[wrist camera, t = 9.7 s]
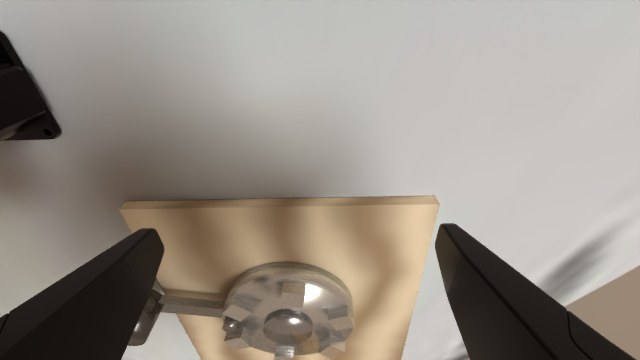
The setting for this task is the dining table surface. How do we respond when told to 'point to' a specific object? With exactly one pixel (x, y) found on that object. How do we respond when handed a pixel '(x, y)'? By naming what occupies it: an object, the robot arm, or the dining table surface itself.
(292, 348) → the gear crank handle
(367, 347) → the base plate
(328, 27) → the dining table surface
